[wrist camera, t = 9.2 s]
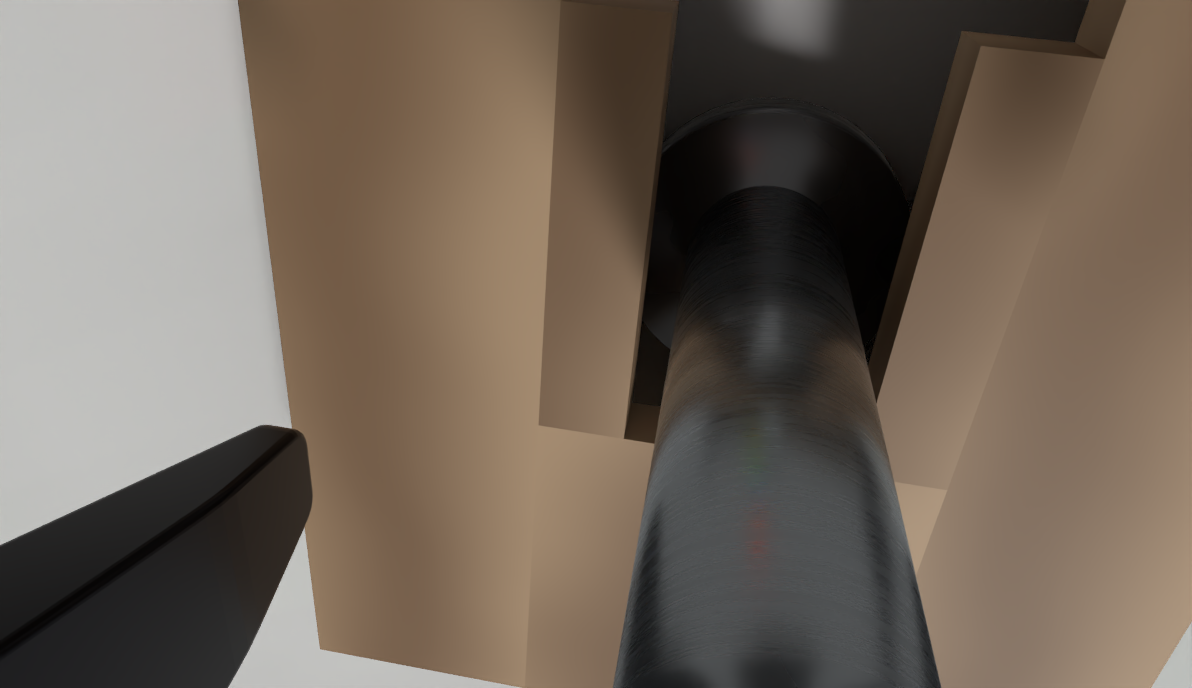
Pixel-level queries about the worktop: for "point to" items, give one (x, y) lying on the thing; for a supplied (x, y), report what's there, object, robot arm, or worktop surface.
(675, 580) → the tee peg
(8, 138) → the worktop surface
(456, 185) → the keyhole board
